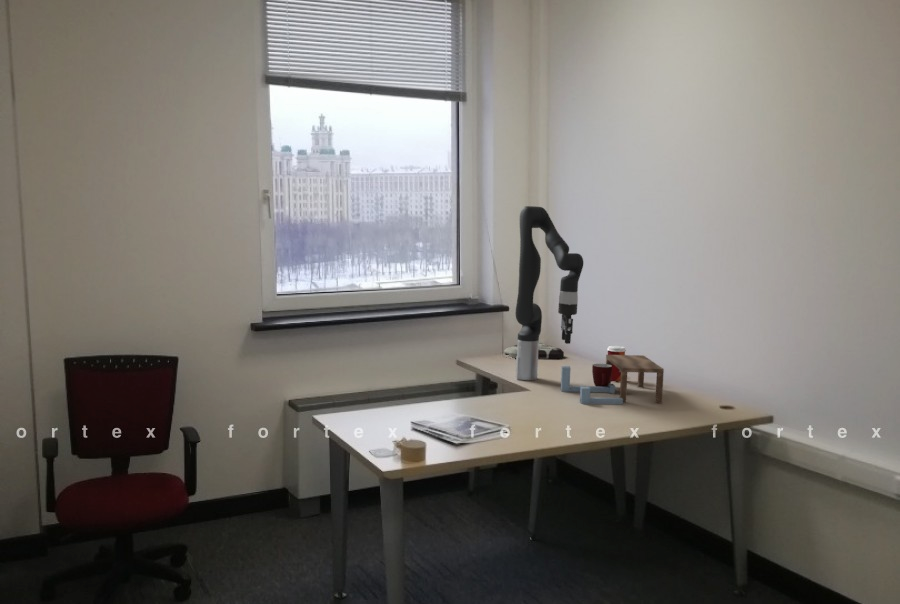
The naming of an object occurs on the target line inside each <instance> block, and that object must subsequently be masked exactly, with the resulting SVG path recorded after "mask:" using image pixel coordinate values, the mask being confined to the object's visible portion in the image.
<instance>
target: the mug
mask: <svg viewBox="0 0 900 604" xmlns="http://www.w3.org/2000/svg"><path fill="white" fill-rule="evenodd" d="M591 369H592V371H591V372H592V380H593V384H594V386H599V387H608V384H609V383H610V379H611V374H612V365H608V364H606V363H593V364H592V368H591Z"/></svg>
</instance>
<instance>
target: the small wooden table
mask: <svg viewBox="0 0 900 604" xmlns="http://www.w3.org/2000/svg"><path fill="white" fill-rule="evenodd" d="M605 364H608V365H612V364H614V365H615V366H616V367H617V368H618V369H619V370H621V382H619V384H620V385H619V386H620V389H619V398H622V399H623V403H627V390H628V389H627V388H628V386H627V385H628V373H637V388H639V387H643V388H644V384H645V379H644V378H645V373H650V374H651V373H656V382H655V383H656V384H655V399H654V401H655V403H656V404H662V403H663V389H664V387H663V386H664V373H665V372H664V371H665V369H664V368H663V367H661V366H660V365H658V363H655V362H654V360H653V361H652V360H651V359H649V358H648V357H647V356H646V355H638V354H637V355H635V354H633V355H630V354H628V355H627V354H625V355H608V354H606V355H605ZM609 384H612V381H611V379H610V383H609Z"/></svg>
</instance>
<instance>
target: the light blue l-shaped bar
mask: <svg viewBox="0 0 900 604" xmlns="http://www.w3.org/2000/svg"><path fill="white" fill-rule="evenodd" d="M560 371H561V377H560V391H561V392H564V393H565V392H566V393H567V392H573V393H574V392H576V393H577V392H579V393H580V387H589V388H590V393H609V394H616V385H615V384H614V383H611V384H608V387H599V386H595V385H594V386H593V385H592V386H591V385H588V386H587V385H571V367H570V365H561V370H560Z"/></svg>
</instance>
